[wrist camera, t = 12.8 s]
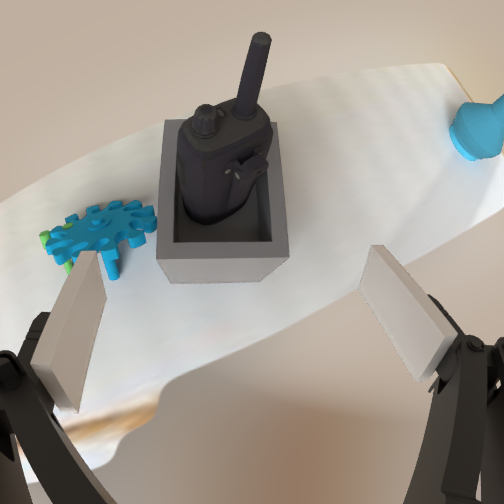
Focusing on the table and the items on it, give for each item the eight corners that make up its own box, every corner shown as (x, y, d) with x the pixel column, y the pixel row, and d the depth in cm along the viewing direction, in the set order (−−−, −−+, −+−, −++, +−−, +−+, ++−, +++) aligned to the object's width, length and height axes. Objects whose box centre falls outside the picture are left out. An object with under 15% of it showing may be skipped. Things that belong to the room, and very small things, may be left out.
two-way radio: (234, 168, 25) (275, 9, 11) (266, 212, 24) (347, 73, 10) (173, 202, 23) (152, 44, 9) (205, 250, 23) (217, 123, 9)
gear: (165, 189, 28) (139, 244, 20) (174, 245, 31) (157, 314, 23) (63, 201, 28) (12, 255, 19) (78, 252, 31) (39, 313, 22)
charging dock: (170, 283, 28) (156, 259, 18) (173, 180, 30) (164, 119, 21) (264, 281, 29) (295, 257, 20) (257, 181, 32) (281, 122, 22)
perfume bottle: (453, 110, 41) (507, 59, 27) (488, 152, 40) (546, 110, 26) (435, 131, 39) (497, 73, 24) (474, 178, 38) (543, 133, 24)
